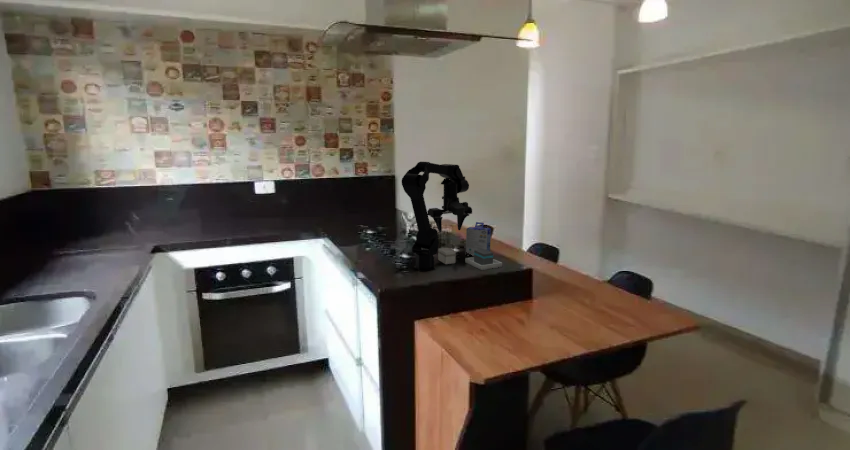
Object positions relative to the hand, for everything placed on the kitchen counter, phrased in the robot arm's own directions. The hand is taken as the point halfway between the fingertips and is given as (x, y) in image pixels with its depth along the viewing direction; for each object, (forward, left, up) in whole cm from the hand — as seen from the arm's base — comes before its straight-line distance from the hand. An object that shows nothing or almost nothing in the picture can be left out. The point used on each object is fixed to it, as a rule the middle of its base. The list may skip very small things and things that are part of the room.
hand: (449, 231), depth 196 cm
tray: (+8, -14, -12) cm, 20 cm away
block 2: (+8, -14, -11) cm, 20 cm away
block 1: (-3, -3, -12) cm, 13 cm away
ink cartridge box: (+14, -1, -12) cm, 19 cm away
